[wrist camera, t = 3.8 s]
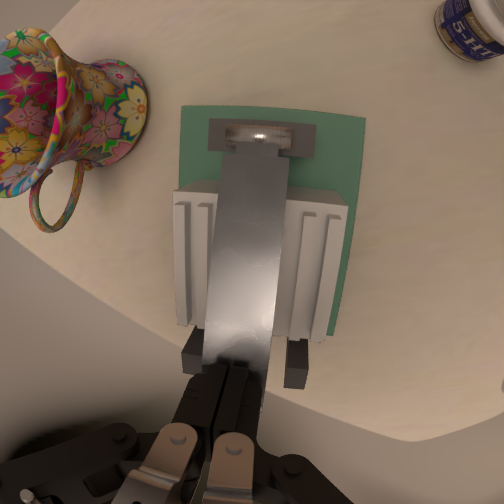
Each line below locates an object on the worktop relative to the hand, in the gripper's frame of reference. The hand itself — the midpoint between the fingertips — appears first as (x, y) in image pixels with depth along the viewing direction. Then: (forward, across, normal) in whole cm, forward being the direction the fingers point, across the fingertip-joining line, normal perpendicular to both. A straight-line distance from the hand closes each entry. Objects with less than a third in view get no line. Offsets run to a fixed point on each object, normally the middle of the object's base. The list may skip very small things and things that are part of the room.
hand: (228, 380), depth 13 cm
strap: (+3, 0, -4) cm, 5 cm away
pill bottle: (+11, -14, -21) cm, 28 cm away
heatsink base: (+12, 0, -4) cm, 12 cm away
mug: (+12, +12, -11) cm, 20 cm away
